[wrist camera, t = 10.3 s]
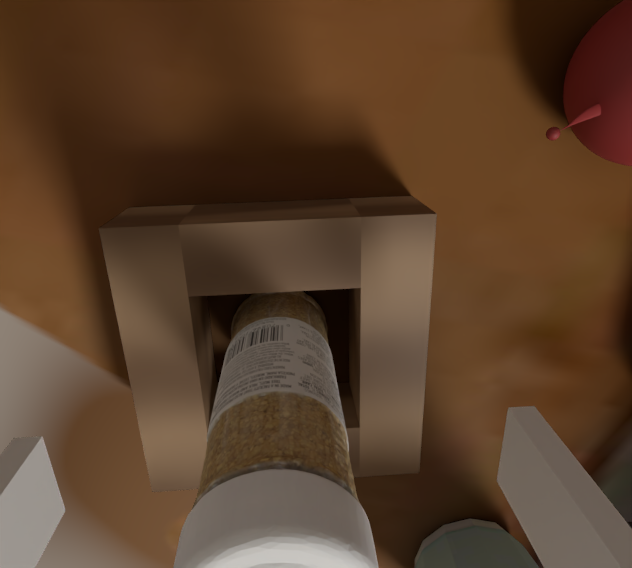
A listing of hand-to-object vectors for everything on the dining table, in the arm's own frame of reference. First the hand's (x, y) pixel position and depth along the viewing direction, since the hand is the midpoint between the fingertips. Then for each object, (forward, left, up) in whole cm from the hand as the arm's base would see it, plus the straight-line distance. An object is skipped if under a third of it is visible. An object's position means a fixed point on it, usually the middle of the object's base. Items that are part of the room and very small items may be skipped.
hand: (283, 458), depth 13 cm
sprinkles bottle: (0, 0, -9) cm, 9 cm away
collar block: (0, 0, -9) cm, 9 cm away
